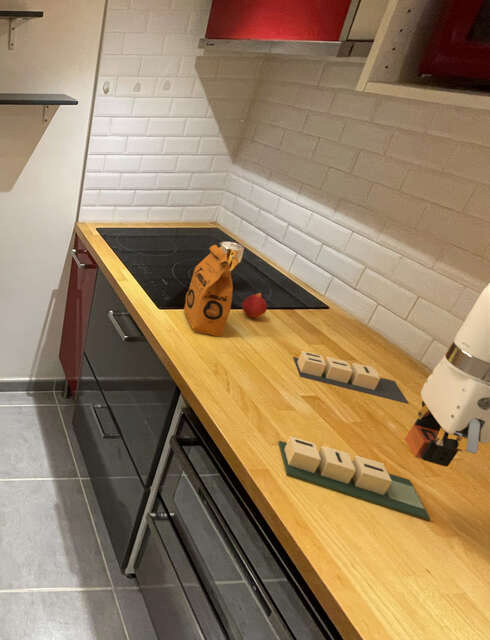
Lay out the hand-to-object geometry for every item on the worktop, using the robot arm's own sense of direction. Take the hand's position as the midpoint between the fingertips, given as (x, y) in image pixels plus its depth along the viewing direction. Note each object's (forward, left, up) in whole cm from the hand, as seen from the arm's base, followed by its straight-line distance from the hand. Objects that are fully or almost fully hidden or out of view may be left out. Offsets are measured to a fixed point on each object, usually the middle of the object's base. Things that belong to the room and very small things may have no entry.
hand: (427, 449), depth 74 cm
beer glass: (+23, -68, -11) cm, 73 cm away
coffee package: (+29, -43, -11) cm, 53 cm away
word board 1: (-1, -32, -11) cm, 34 cm away
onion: (+16, -53, -11) cm, 57 cm away
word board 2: (+7, 0, -11) cm, 13 cm away
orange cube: (0, 0, -1) cm, 1 cm away
